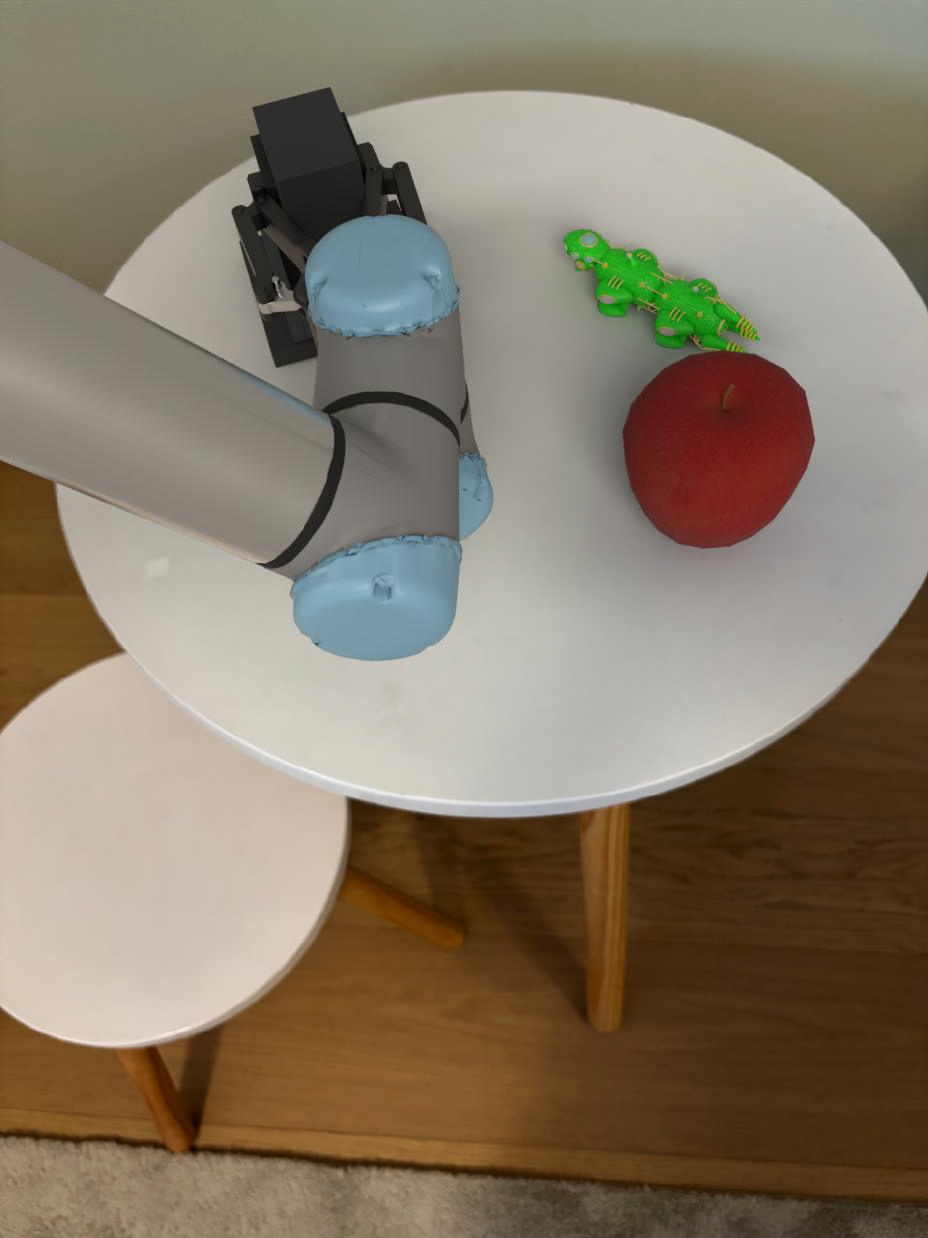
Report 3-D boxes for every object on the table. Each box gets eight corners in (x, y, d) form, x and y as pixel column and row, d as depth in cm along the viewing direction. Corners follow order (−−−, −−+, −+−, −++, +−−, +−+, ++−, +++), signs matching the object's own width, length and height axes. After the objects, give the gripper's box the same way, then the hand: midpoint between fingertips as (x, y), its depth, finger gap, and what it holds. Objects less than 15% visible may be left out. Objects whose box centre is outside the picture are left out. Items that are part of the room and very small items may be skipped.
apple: (727, 425, 76) (757, 285, 65) (823, 539, 71) (876, 408, 59) (585, 490, 74) (590, 358, 63) (673, 613, 69) (697, 493, 57)
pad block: (306, 291, 80) (276, 181, 72) (283, 219, 85) (251, 106, 76) (380, 271, 81) (359, 158, 72) (353, 199, 85) (330, 85, 77)
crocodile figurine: (589, 241, 87) (591, 198, 83) (774, 336, 80) (785, 293, 77) (540, 286, 85) (539, 244, 81) (725, 387, 78) (734, 346, 74)
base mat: (275, 368, 83) (265, 336, 80) (243, 254, 90) (232, 221, 87) (443, 321, 84) (439, 287, 81) (398, 213, 91) (393, 178, 88)
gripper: (251, 421, 71) (196, 211, 83) (513, 346, 73) (423, 150, 84) (220, 342, 65) (165, 126, 76) (508, 262, 66) (412, 62, 78)
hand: (301, 139), depth 80 cm, fingers closed on pad block, 6 cm apart
